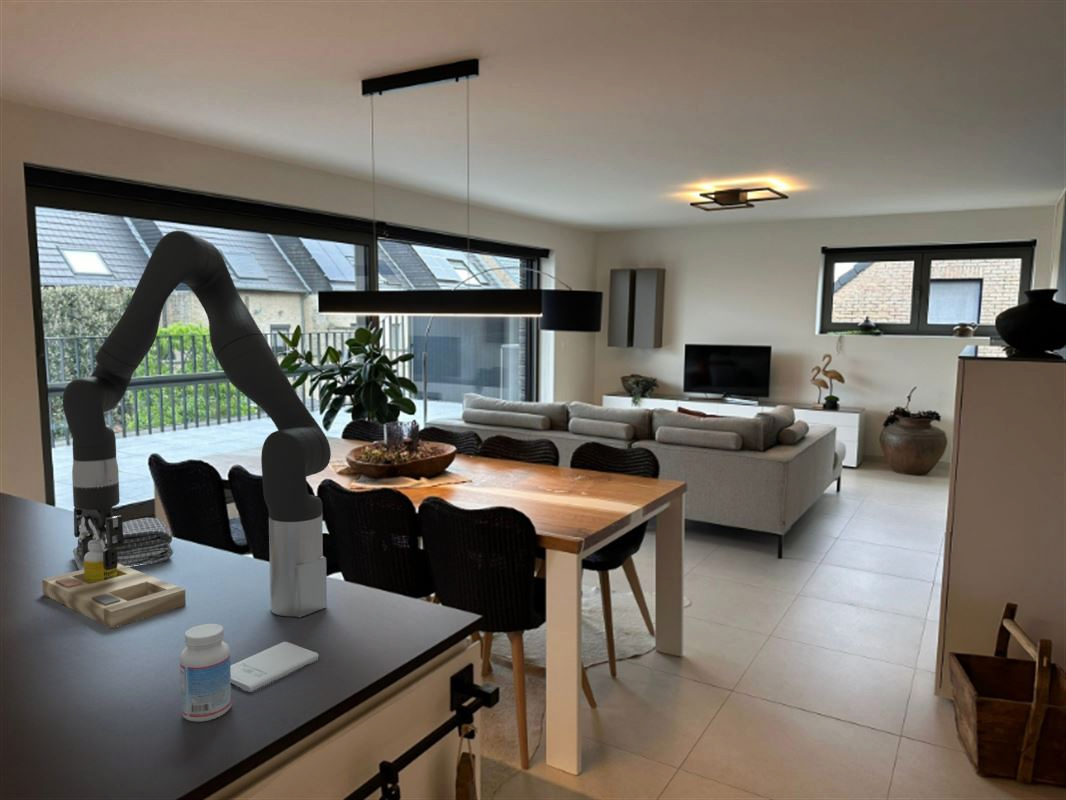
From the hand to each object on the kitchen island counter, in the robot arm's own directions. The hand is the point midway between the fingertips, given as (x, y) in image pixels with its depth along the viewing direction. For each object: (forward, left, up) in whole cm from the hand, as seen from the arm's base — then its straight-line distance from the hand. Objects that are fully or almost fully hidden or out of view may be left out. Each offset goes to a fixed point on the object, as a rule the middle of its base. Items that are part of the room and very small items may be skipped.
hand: (99, 564), depth 138 cm
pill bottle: (-57, +13, -5) cm, 59 cm away
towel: (+16, -12, -6) cm, 21 cm away
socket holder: (-7, +1, -5) cm, 9 cm away
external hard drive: (-53, +1, -6) cm, 53 cm away
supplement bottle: (0, 0, -5) cm, 5 cm away
